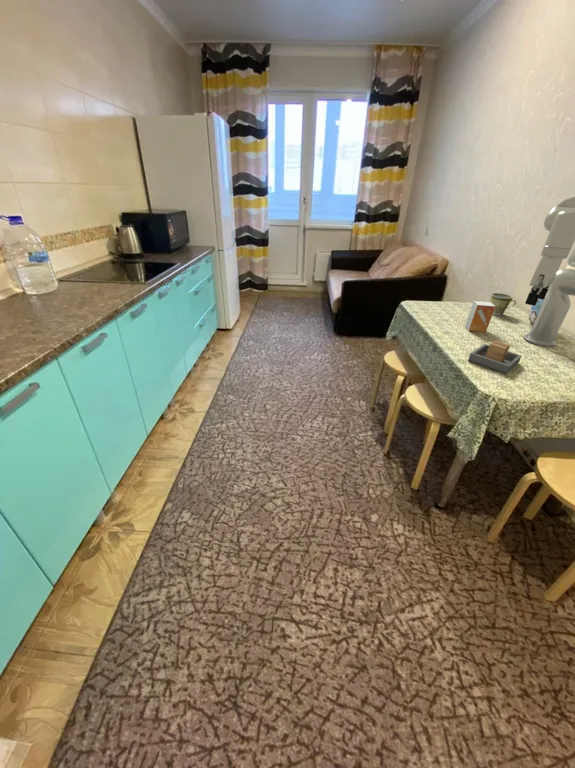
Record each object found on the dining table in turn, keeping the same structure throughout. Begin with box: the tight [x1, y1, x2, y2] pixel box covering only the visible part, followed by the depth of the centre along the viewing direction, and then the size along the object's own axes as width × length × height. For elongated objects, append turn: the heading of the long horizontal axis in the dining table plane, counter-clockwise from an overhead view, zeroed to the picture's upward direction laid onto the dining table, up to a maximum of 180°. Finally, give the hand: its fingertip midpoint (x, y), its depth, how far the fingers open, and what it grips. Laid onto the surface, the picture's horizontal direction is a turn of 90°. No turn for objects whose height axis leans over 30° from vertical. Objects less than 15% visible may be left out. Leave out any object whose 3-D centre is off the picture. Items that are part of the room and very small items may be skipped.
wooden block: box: [485, 339, 511, 363], centre depth 128 cm, size 6×6×7 cm
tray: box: [467, 343, 522, 376], centre depth 129 cm, size 14×14×4 cm
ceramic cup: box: [490, 292, 517, 317], centre depth 178 cm, size 13×10×10 cm
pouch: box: [527, 288, 549, 326], centre depth 159 cm, size 8×19×20 cm, turn 154°
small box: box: [464, 300, 496, 333], centre depth 156 cm, size 8×6×13 cm
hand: (534, 301), depth 120 cm, fingers open, 9 cm apart
